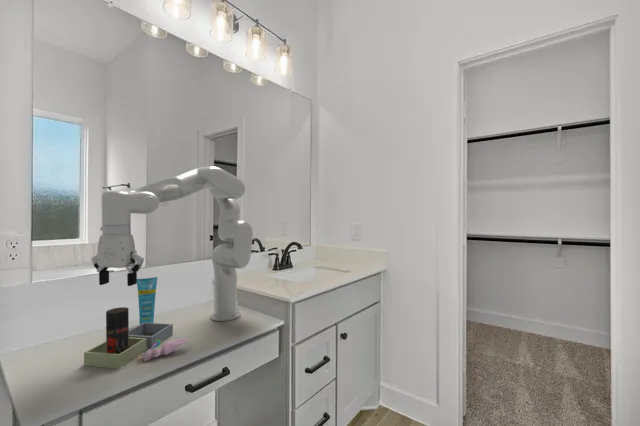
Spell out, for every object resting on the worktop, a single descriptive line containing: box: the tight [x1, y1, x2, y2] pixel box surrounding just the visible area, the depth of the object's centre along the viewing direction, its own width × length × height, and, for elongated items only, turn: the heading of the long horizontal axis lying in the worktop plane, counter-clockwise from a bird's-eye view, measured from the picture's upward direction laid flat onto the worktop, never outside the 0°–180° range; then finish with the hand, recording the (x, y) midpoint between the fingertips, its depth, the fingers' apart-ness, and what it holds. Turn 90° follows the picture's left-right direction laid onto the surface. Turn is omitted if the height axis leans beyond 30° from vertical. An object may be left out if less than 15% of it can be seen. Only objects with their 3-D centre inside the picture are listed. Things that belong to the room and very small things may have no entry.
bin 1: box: [83, 337, 148, 369], centre depth 97 cm, size 12×12×4 cm
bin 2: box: [129, 322, 174, 350], centre depth 109 cm, size 12×12×4 cm
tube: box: [136, 276, 158, 325], centre depth 123 cm, size 7×5×19 cm, turn 123°
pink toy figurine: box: [136, 338, 189, 364], centre depth 98 cm, size 6×6×15 cm
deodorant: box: [105, 306, 130, 354], centre depth 97 cm, size 6×6×15 cm
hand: (118, 284), depth 97 cm, fingers open, 9 cm apart
